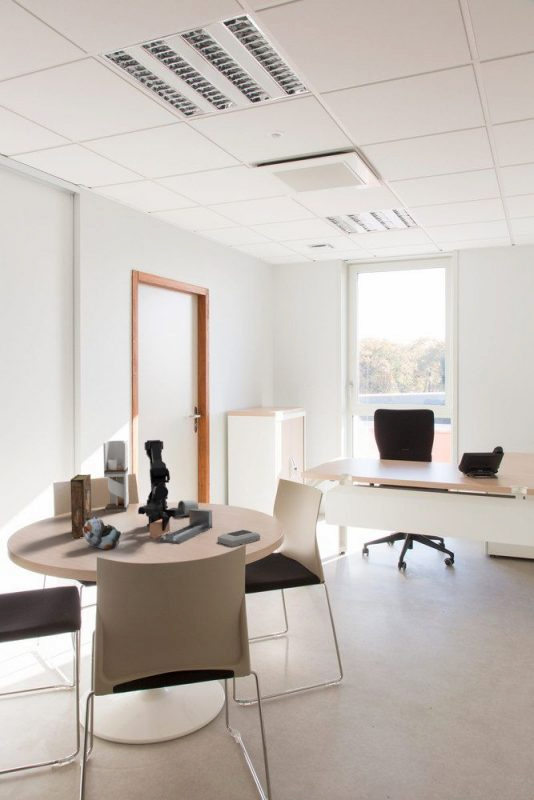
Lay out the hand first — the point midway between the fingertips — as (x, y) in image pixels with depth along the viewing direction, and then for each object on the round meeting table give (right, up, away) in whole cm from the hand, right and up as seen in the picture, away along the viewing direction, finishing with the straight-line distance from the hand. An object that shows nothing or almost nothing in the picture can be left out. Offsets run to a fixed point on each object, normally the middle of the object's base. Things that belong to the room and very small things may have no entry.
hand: (159, 530), depth 273 cm
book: (-35, -2, +3) cm, 35 cm away
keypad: (+35, -2, -13) cm, 37 cm away
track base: (+12, -1, -1) cm, 12 cm away
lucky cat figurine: (-20, -3, -19) cm, 28 cm away
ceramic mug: (+7, 0, +38) cm, 38 cm away
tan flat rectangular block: (0, -2, 0) cm, 2 cm away
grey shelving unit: (-31, 0, +52) cm, 61 cm away
